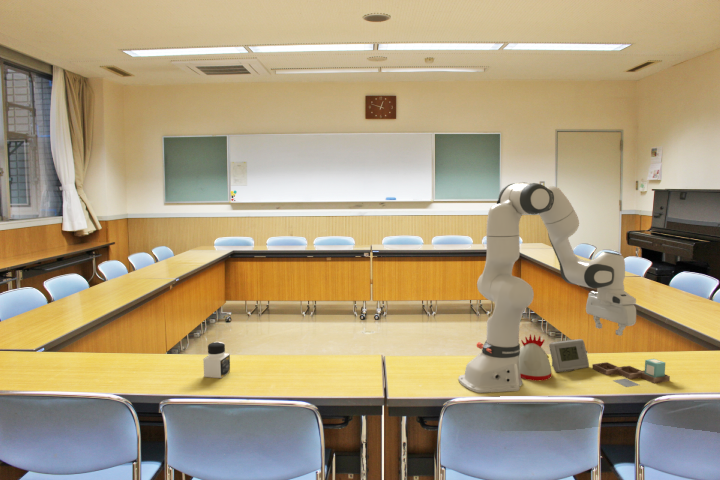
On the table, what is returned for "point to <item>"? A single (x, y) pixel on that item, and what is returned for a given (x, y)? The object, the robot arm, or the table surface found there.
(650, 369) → the teal rectangular block
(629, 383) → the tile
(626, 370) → the box
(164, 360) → the table surface
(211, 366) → the medicine bottle
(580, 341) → the digital clock
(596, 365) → the box
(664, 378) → the box
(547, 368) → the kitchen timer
